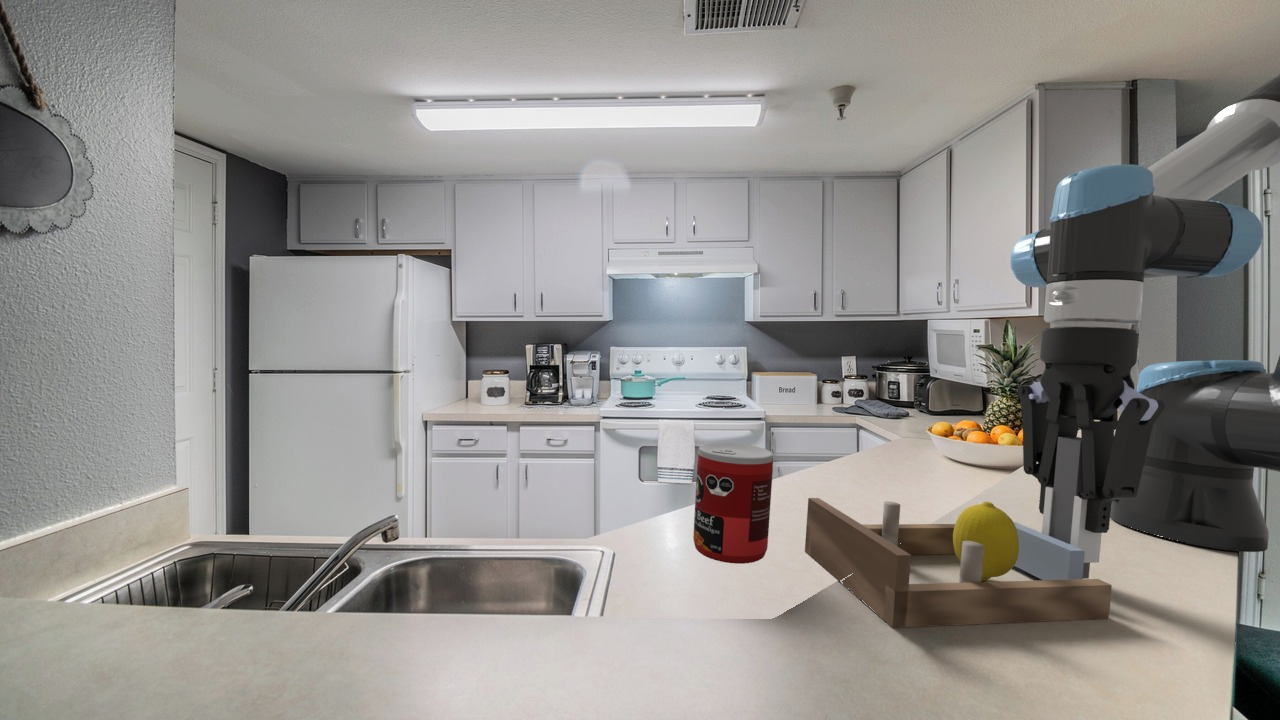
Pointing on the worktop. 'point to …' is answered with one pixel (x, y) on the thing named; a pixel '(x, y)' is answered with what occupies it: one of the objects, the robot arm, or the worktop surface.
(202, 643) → the worktop surface
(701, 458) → the canned food
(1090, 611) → the lane
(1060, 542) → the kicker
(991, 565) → the lemon
